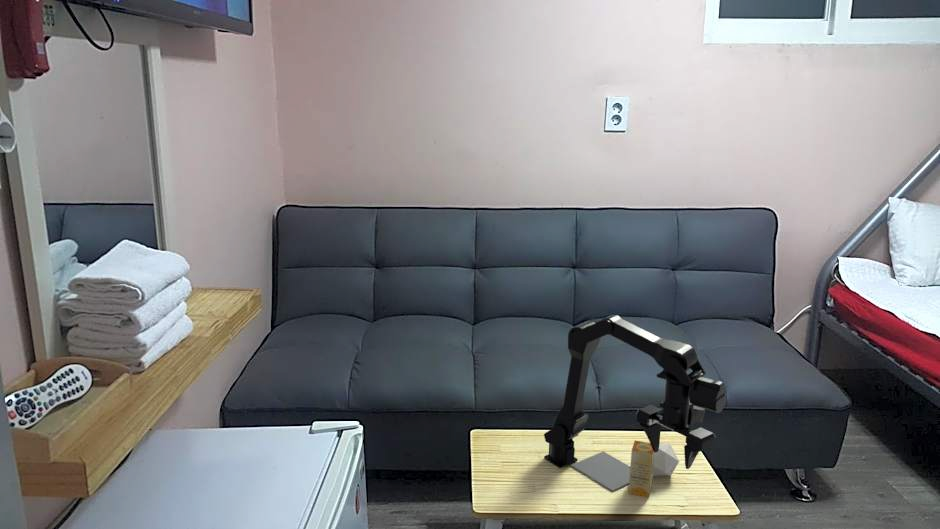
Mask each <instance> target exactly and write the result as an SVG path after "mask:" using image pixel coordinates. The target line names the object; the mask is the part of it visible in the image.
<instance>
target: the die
mask: <svg viewBox="0 0 940 529" xmlns="http://www.w3.org/2000/svg"><path fill="white" fill-rule="evenodd" d="M672 446H673V445H672V444H671V443H661V442H660V443H659V450H658V452H656V453H654V465H653V477H672V475H673V473H674V472H675V469H677V466H678V465H679V462H680V460H679V458H678V456H677V454H676V452H675V451H674V449H673V447H672Z"/></svg>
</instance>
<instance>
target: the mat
mask: <svg viewBox="0 0 940 529" xmlns="http://www.w3.org/2000/svg"><path fill="white" fill-rule="evenodd" d="M570 465H571V467H572V468H573V469H575V470H577V471H578V472H579V473H582V474H583V475H584V476H586V477H588V478H589V479H591V480H593V481H594V482H596V483H597V484H599V485H601V486H602V487H604V488H606V489H607V490H608V491H611V492H612V493H613V492H616V491H618V490H619V489H622V488H624V487H626V486H629V480H630V466H631V465H628V464H626V462H623V461H621V459H617V458H616V457H615V456H612V455H610V454H608V453H607V452H606V451H601V452H598V453H596V454H594V455H592V456H589V457H587V458H585V459H582V460H580V461H576V462H574V463H572V464H570Z"/></svg>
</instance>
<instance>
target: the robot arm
mask: <svg viewBox="0 0 940 529" xmlns="http://www.w3.org/2000/svg"><path fill="white" fill-rule="evenodd" d="M607 335H609V336H611V337H613V338H615V339H617V340H619V341H620V342H623V343H625V344H627V345H629V346H631V347H632V348H635V349H637V350H638V351H640V352H642V353H644V354H646V355H648V356H649V357H651V358H652V359H653V360H655V362H656V364H657V365H658V366H659V367H660V368H662V369H663V370H662V371H660V372H658V373H657V374H656V378H658V379H663V380H665V381H664V382H665V383H664V395H663V401H660V403H659V407H657V406H655V405H653V404H649V405H647V406H644V407H642V408H639V409H637V412H636V413H635V421H636V422H638V423H639V426H640V427H641V428H642V429H643V432H644V433H645V435H646V437H647V440H648V443H650V444H651V446H652V448H653V451H654V452H655V453H656V452H658V450H659V443H661V442H660V441H661V440H660V439H661V430H662V428H663V427H664V428H666V429H668V430H671V431H672V432H675V433H677V434H679V435H682V436H684V437H685V444H686V445H684V446H683V449H684V451H683V452H684V467H685V469H686V470H689V469H690V468H691V467H692V465H693V464H694V461H695V459H696V457H697V456H698V454H699V453H700V452H703V451H705V450H708V449H709V448H712V447H713V446H715V445H716V441H717V436H716V434H715V433H714V432H712V431H710V430H708V429H705V428H703V427H698V428H697V429H694V430H693V429H692V428H690V427H689V426H693V425H694V424H695V422H697V423H701V424H702V423H703V419H704V416H705V413H706V410H708V411H710V412H714V413H717V414H719V413H721V412H722V411H723V409H724V408H725V405H726V402H727V396H728V394H727V390H726V388H725V386H724V384H725V383H724V382H723V381H720V380H714V379H711V378H706V377H705V376H706V374H707V373H706V371H705V369H704V368H703V365H702V364H701V362H700V361H699V359H698V355H697V352H696V350H695V348H694V347H693V346H691V345H690V344H688V343H684V342H680V341H678V340H672V339H665V338H662V337H659V336H657V335H655V334H653V333H651V332H649V331H647V330H645V329H643V328H641V327H639V326H637V325H635V324H633V323H631V322H630V321H627V320H625V319H623V318H622V317H621V316H619V315H618V314H611V315H608V316H606V317H604V318H603V319H599V320H598V321H595V322H594V321H591V320H589V321H585V322H582V323H581V324H578V325H576V326H574V327H572V328H570V329H569V331H568V333H567V349H568V352H569V353H570V354H569V355H570V360H569V361H570V362H569V367H568V368H569V369H568V374H567V380H566V386H565V391H564V396H563V403H562V406H561V408H560V409H559V411H558V413H557V415H556V416H555V419H554V421H553V423H552V428H551V429H550V430H548V431H547V432H544V434H543V437H544V441H545V442H546V443H547V444H548V454H545V455H544V459H545V460H546V461H548V462H549V463H551V464H552V465H554V466H556V467H558V468H559V469H562V468H564V467H567V466H569V465H573V464H575V463H577V462H578V458H577V457H575V452H576V451H575V450H576V449H575V441H574V438H575V437H578V436H579V435H580V433H582V432H583V431H584V430H585V429H586V428H587V427H588V419H589V413H586V412H585V411H584V410H583V401H584V395H585V391H586V385H587V379H588V374H589V368H590V363H591V358H592V356H593V355H594V353H595V352H596V350H597V348H598V346H599V344H600V341H601V338H602V337H605V336H607ZM689 370H692V371H691V372H689V373H687V371H689Z"/></svg>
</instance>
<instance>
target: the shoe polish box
mask: <svg viewBox="0 0 940 529" xmlns="http://www.w3.org/2000/svg"><path fill="white" fill-rule="evenodd" d="M654 453H655V452H654V451H653V448H652V446H651V444H650V442H645V441H641V440H636V439H635V440H634V441H633V445H632V448H631V456H630V465H629V466H630V480H629V484H628V495H632V496H638V497H642V498H648V499H649V498H650V495H651V492H652V487H653V485H652V484H653V477H654V476H653V465H654Z"/></svg>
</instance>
